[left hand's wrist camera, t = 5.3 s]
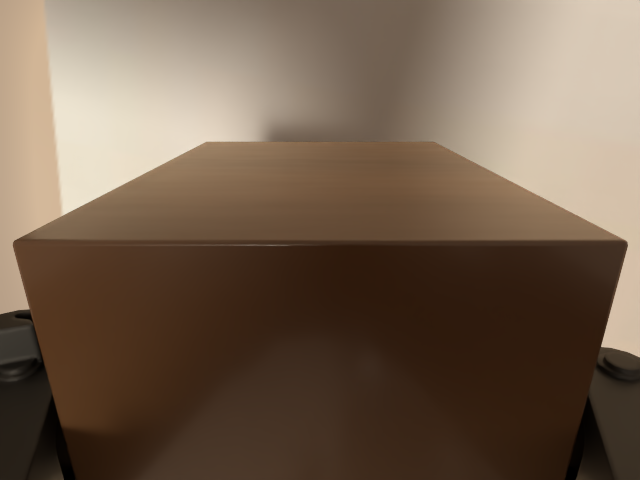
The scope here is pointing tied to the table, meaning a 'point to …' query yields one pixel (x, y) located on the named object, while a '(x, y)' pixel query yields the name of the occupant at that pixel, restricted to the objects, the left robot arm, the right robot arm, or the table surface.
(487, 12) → the table surface
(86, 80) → the table surface
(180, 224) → the box
